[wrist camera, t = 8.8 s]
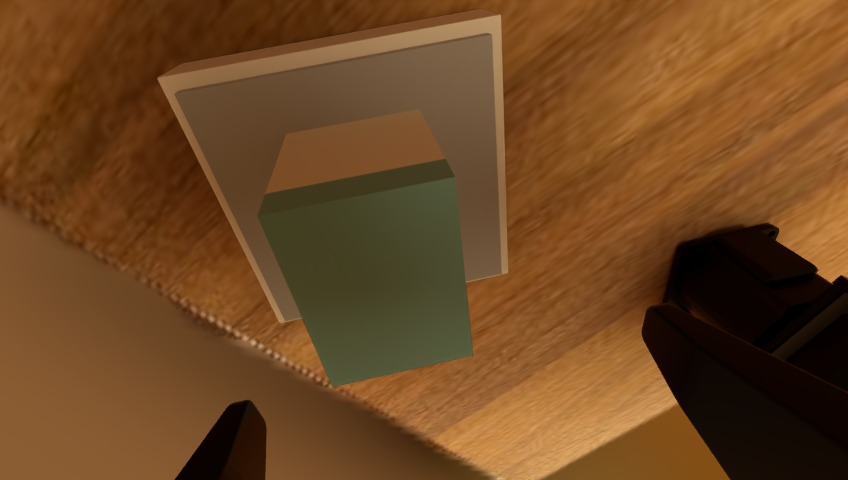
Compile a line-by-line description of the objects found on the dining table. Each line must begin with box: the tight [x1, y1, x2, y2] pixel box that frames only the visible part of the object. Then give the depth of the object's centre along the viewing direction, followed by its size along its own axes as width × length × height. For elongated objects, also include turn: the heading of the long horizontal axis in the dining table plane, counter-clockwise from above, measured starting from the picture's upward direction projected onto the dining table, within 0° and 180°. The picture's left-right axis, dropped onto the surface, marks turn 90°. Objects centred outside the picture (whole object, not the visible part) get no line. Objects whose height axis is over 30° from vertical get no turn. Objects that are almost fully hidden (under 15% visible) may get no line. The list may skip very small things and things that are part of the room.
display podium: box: [157, 9, 508, 323], centre depth 18 cm, size 12×12×3 cm
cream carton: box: [257, 109, 473, 387], centre depth 15 cm, size 5×7×6 cm
